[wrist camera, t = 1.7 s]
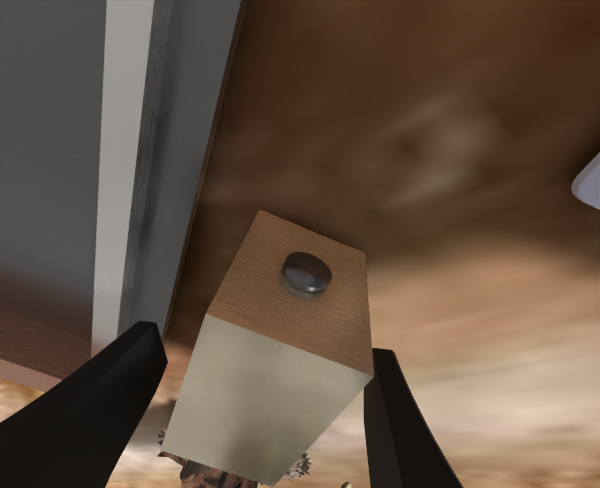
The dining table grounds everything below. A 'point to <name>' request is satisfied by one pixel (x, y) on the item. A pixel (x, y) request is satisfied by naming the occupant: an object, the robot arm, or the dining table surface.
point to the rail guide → (101, 167)
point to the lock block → (274, 353)
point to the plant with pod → (225, 473)
